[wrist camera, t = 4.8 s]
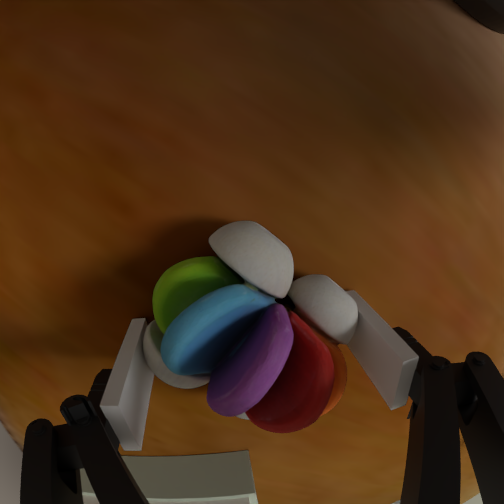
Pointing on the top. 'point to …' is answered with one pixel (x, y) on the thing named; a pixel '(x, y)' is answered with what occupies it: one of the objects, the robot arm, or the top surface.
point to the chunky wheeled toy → (252, 331)
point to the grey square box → (188, 479)
